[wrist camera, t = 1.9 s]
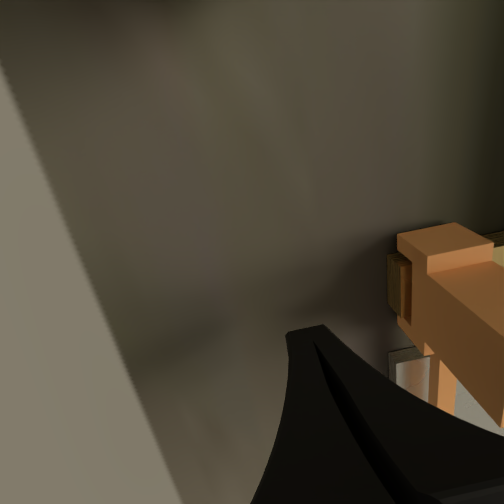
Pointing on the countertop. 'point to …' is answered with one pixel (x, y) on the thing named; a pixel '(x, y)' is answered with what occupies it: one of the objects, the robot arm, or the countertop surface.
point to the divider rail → (402, 275)
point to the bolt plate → (417, 383)
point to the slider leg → (457, 314)
